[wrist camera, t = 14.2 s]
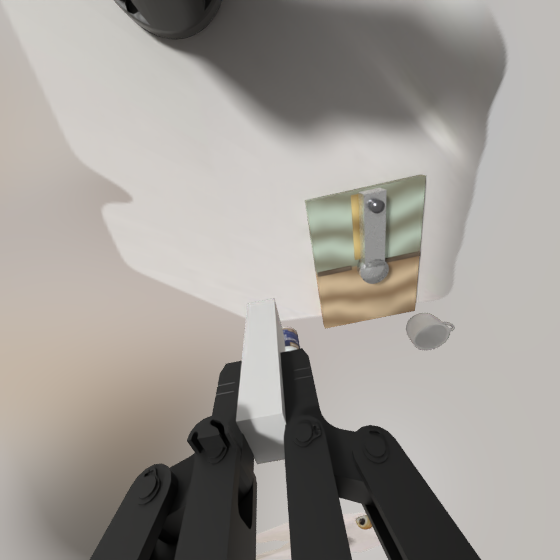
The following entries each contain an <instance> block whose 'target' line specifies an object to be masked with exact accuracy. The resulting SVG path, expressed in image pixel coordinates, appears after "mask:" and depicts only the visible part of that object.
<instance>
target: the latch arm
mask: <svg viewBox="0 0 560 560" xmlns="http://www.w3.org/2000/svg"><path fill="white" fill-rule="evenodd" d="M386 193H387V190H385V189H382V188H375V189H371V190H366V191H361V192H358V197H359V230H360V260H359V262H358V264H357V272H358V274H359V275H360V276H361V278H362V279H363V280H364V281H365V282H366V283H369V284H375V283H378V282H380V281H382V280H383V279H384V278H385V277H386V276H387V274H388V271H389V266H388V264H387V263H386V262H385V235H386Z"/></svg>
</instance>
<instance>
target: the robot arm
mask: <svg viewBox="0 0 560 560" xmlns="http://www.w3.org/2000/svg"><path fill="white" fill-rule="evenodd" d="M114 1H115V2H116V3H117V5H118V6H119V7H120V8H121V9H122V10H123V11H124V12H125V13H126V14H127V15H128V16H129V17H130V18H131V19H132V20H134V21H135V22H136V23H137V24H138V25H140V26H141V27H142V28H144V29H145V30H147V31H149V32H151V33H153V34H155V35H158V36H160V37H164V38H169V39H182V38H187V37H190V36H192V35H195V34H196V33H198V32H200V31H201V30H202V29H204V28H205V27H206V26H207V25H208V24H209V23H210V21H211V20H212V19H213V17H214V16H215V14H216V12H217V10H218V8H219V6H220V4H221V1H222V0H114ZM187 442H188V443H189V444H190V446H191V447H192V449H193V450H194V451H195V453H194V454H193V455H192V456H190V457H189V458H187V459H185V460H183V461H181V462H180V463H178V464H176V465H174V466H172V467H170V468H169V467H168V466H166V465H164V464H154V465H152V466H151V467H149V468H147V469H145V470H144V471H143V472H142V473H141V474H140V475H139V476H138V477H137V478H136V480H135V481H134V483H133V484H132V486H131V487H130V489H129V491H128V492H127V494H126V496H125V498H124V500H123V501H122V503H121V505H120V507H119V509H118V510H117V512H116V514H115V516H114V518H113V519H112V521H111V523H110V525H109V526H108V528H107V530H106V532H105V534H104V535H103V537H102V539H101V541H100V542H99V544H98V546H97V548H96V550H95V551H94V553H93V555H92V557H91V559H90V560H256V508H257V482H256V476H255V474H254V472H253V470H254V459H255V461H256V463H257V464H260V463H266V462H271V461H278V460H283V459H285V467H286V482H287V498H288V512H289V529H290V544H291V559H292V560H352V557H351V553H350V548H349V543H348V539H347V534H346V529H345V524H344V520H343V515H342V510H341V506H340V501H339V498H343V499H347V500H351V501H354V502H358V503H361V504H362V505H363V507H364V510H365V512H366V514H367V516H368V518H369V520H370V522H371V524H372V526H373V528H374V530H375V533H376V535H377V537H378V539H379V541H380V543H381V545H382V547H383V549H384V551H385V554H386V556H387V558H388V560H481V559H480V558H479V556H478V555H477V553H476V552H475V551H474V549H473V548H472V546H471V545H470V543H468V541H467V539H466V538H465V536H464V535H463V534H462V532H461V531H460V529H459V528H458V527H457V525H456V524H455V522H454V521H453V519H452V518H451V517H450V515H449V514H448V512H447V511H446V510H445V508H444V507H443V505H442V504H441V503H440V501H439V500H438V499H437V497H436V496H435V494H434V493H433V491H432V490H431V489H430V487H429V486H428V484H427V483H426V481H425V480H424V479H423V477H422V476H421V474H420V473H419V472H418V470H417V469H416V467H415V466H414V465H413V463H412V462H411V460H410V459H409V458H408V456H407V455H406V454H405V452H404V451H403V449H402V448H401V446H400V445H399V443H398V442H397V441H396V439H395V438H394V437H393V436H392V435H391V434H390V433H389V432H388V431H386V430H384V429H383V428H381V427H378V426H372V425H369V426H364V427H361V428H360V429H359V430H358V431H356V432H354V431H348V430H342V429H339V428H336V427H334V426H332V425H330V424H329V423H328V422H327V421H326V420H325V419H324V417H323V416H322V414H321V411H320V408H319V403H318V398H317V394H316V389H315V385H314V380H313V375H312V370H311V366H310V361H309V357H308V355H307V354H306V353H305V351H304V350H303V349H302V348H301V349H296V350H291V351H285V341H284V334H283V330H282V326H281V322H280V319H279V315H278V311H277V307H276V303H275V299H274V298H273V299H268V300H263V301H258V302H253V303H248V305H247V315H246V325H245V335H244V345H243V355H242V361H239V362H233V363H228V364H226V365H225V367H224V368H223V370H222V371H221V373H220V376H219V382H218V387H217V392H216V398H215V402H214V408H213V413H212V416H210V417H207V418H205V419H203V420H202V421H200V422H199V423H198V424H196V426H195V427H194V428H193V430H192V431H191V433H190V434H189V437H188V439H187Z"/></svg>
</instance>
